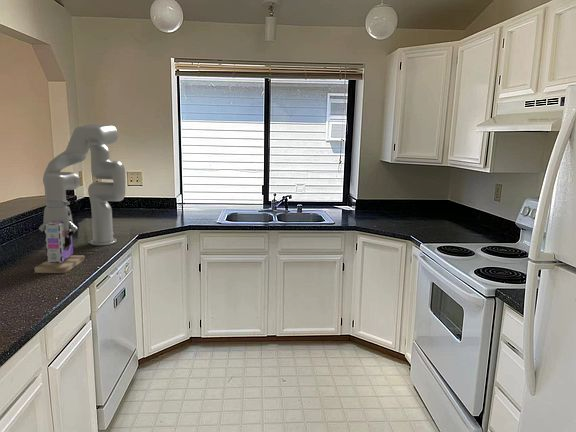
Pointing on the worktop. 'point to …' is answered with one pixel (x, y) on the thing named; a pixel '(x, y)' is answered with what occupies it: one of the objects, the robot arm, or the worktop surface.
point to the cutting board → (60, 265)
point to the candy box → (56, 243)
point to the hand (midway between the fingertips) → (59, 245)
